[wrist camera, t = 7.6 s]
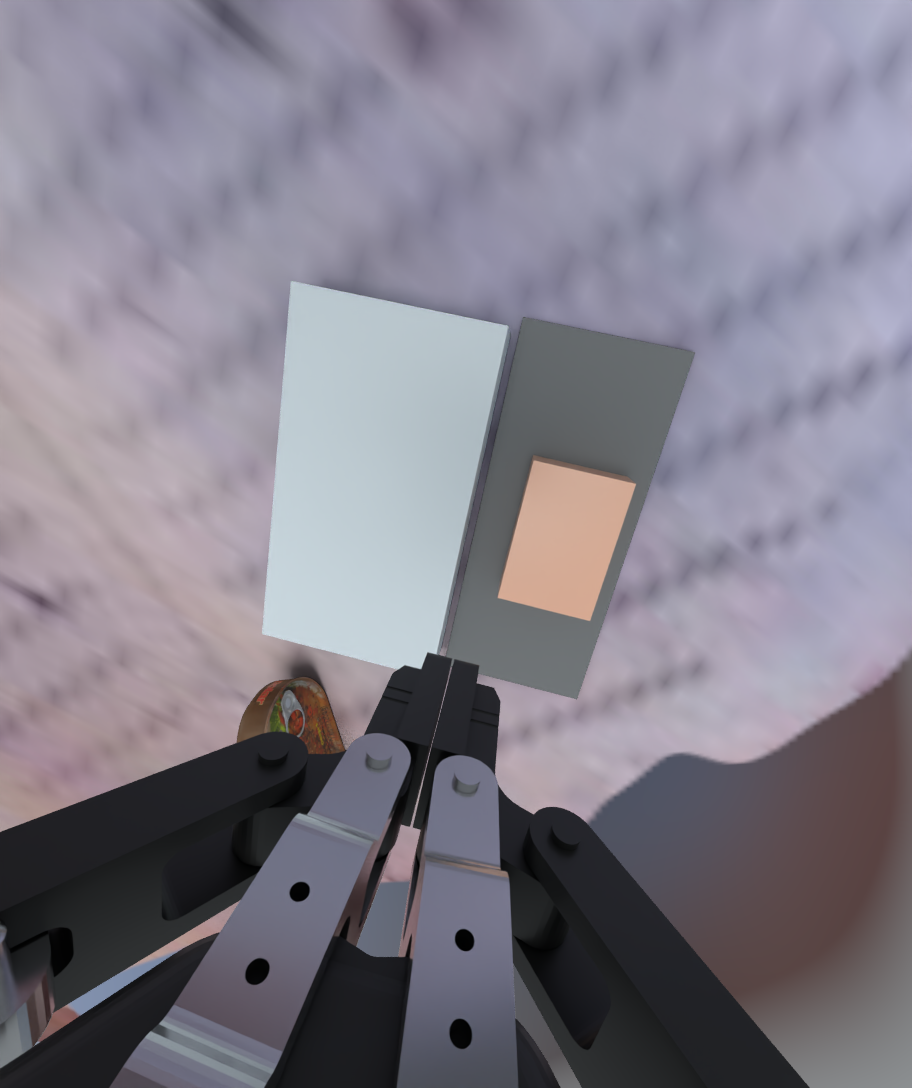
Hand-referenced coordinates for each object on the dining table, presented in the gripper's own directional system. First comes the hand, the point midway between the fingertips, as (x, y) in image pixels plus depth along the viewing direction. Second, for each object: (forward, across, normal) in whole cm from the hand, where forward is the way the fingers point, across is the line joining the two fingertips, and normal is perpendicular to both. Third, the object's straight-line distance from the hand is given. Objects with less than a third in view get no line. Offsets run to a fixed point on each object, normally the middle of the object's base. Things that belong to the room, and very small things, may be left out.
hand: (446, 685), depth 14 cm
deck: (+20, +7, 0) cm, 21 cm away
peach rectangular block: (+17, -5, 0) cm, 18 cm away
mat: (+20, -4, 0) cm, 21 cm away
